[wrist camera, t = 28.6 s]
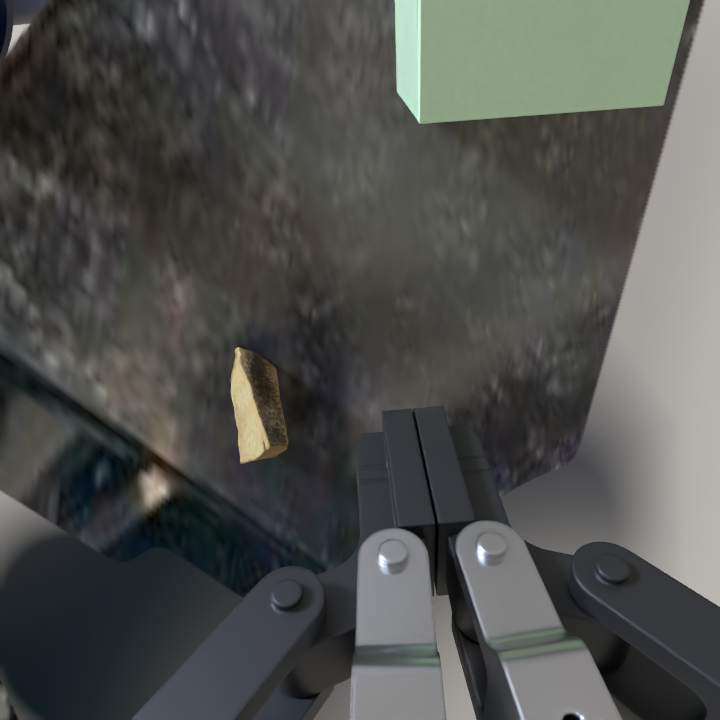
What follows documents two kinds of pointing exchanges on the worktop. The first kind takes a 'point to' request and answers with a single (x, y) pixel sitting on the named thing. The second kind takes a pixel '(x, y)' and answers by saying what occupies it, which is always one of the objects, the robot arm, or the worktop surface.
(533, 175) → the worktop surface
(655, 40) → the lid
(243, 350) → the rock
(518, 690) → the robot arm
